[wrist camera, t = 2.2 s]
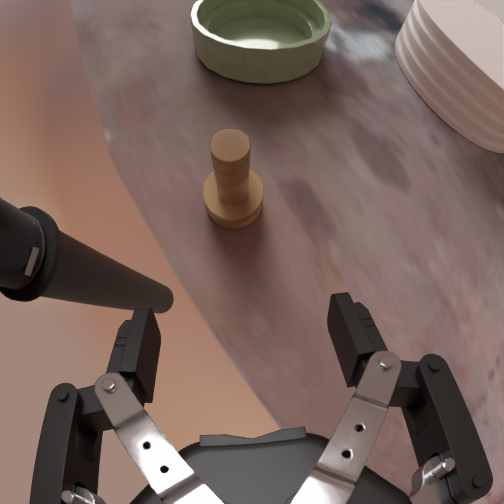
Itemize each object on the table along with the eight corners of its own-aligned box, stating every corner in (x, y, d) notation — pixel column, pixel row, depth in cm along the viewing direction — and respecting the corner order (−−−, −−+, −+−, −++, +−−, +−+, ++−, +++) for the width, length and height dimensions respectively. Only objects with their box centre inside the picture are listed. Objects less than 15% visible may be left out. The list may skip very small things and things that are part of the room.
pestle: (212, 235, 31) (197, 189, 20) (200, 184, 32) (183, 122, 21) (268, 221, 31) (281, 170, 20) (253, 172, 32) (258, 106, 21)
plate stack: (387, 11, 41) (405, -32, 30) (500, 67, 40) (526, 36, 29) (401, 113, 35) (439, 57, 24) (534, 177, 34) (577, 149, 23)
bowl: (208, 97, 34) (203, 60, 28) (188, 23, 38) (183, -9, 31) (341, 79, 36) (354, 45, 29) (296, 10, 39) (301, -20, 33)
